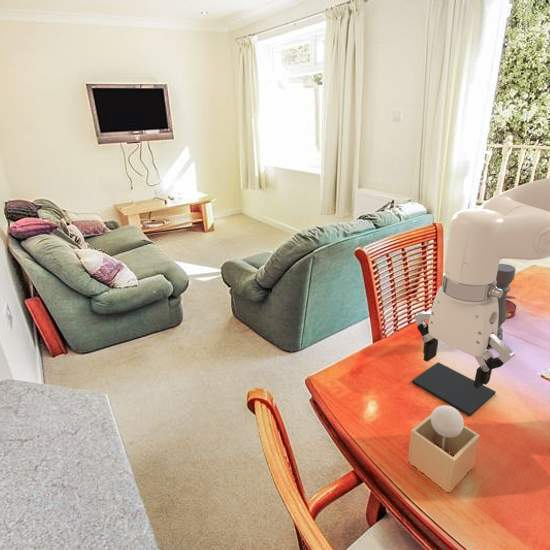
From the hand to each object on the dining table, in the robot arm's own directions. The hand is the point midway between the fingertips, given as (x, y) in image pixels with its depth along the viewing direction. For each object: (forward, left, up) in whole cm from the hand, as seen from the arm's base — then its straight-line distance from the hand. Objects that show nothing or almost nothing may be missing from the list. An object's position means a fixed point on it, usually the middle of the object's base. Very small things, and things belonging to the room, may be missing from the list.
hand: (453, 370), depth 68 cm
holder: (0, 0, -24) cm, 24 cm away
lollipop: (0, 0, -25) cm, 25 cm away
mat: (+11, -23, -24) cm, 35 cm away
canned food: (+22, -70, -25) cm, 78 cm away
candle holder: (+15, -50, -25) cm, 58 cm away
